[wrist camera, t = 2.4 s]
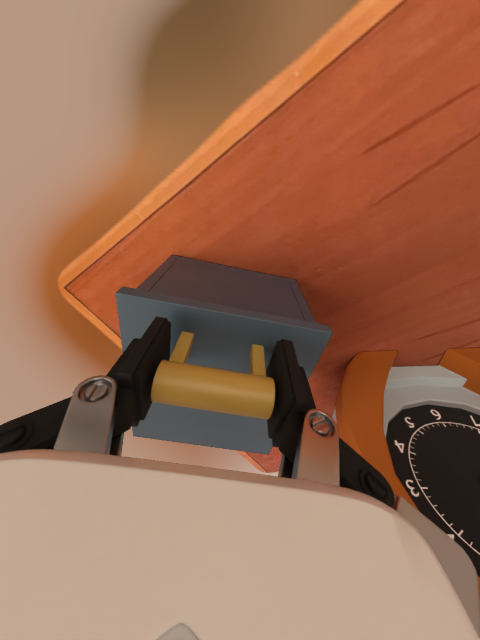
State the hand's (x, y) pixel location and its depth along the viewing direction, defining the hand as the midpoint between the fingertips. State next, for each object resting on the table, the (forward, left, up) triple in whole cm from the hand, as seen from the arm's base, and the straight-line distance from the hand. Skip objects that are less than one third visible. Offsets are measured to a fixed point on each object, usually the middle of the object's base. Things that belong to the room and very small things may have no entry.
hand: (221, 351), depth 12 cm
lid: (+4, -2, -2) cm, 5 cm away
